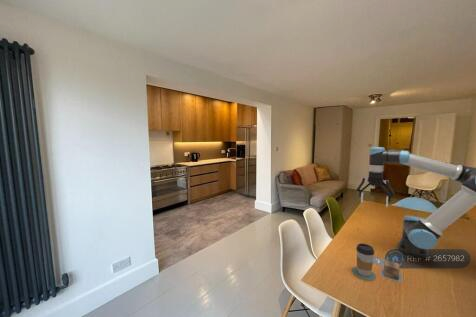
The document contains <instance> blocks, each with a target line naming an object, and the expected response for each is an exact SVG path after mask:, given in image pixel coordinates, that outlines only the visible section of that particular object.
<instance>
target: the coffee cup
mask: <svg viewBox="0 0 476 317" xmlns="http://www.w3.org/2000/svg"><path fill="white" fill-rule="evenodd" d="M355 250H356V267H357V271H358V273H359V274H360V275H362V276H365V277H369V276H370V275H371V271H372V270H373V265H374V264H373V257H374V256H375V250H374V247H373V246H371V245H370V244H367V243H361V242H360V243H358V244H357V246H356V248H355Z"/></svg>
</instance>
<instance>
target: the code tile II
mask: <svg viewBox="0 0 476 317" xmlns="http://www.w3.org/2000/svg"><path fill="white" fill-rule="evenodd" d="M379 276H381V277H383V278H386V279H388V280H391V281H392V282H396V283H399V284H401V283H402V280H403V274H401V273H399V280H396V279H393V278H389V277H386V276H384V267H382V268H381V270H380V272H379Z"/></svg>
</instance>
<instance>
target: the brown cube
mask: <svg viewBox="0 0 476 317" xmlns="http://www.w3.org/2000/svg"><path fill="white" fill-rule="evenodd" d="M384 260H385V261H384V264H383V268H384V276H386V277H389V278H393V279H396V280H399V274H400V265H399V263H398V262H395V261H394V262H393V261H390V260H388V259H384Z"/></svg>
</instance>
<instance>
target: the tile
mask: <svg viewBox="0 0 476 317" xmlns="http://www.w3.org/2000/svg"><path fill="white" fill-rule="evenodd" d="M385 260H386V259H384V258H381V257H377V256H375V255H374V257H373V265H377V266H379V267H382V268H384V261H385Z"/></svg>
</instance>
